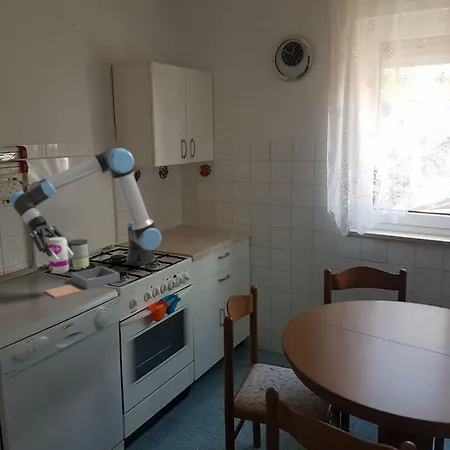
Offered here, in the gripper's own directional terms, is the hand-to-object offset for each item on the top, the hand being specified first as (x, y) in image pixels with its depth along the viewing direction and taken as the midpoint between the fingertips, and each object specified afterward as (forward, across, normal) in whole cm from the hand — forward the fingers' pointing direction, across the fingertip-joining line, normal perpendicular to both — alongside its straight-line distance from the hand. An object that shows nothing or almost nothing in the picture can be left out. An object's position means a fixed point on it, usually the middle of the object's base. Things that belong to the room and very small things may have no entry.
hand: (64, 258), depth 211 cm
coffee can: (-7, -36, -29) cm, 47 cm away
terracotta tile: (+9, 0, -13) cm, 16 cm away
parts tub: (+11, -19, -11) cm, 24 cm away
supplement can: (+2, 0, -7) cm, 7 cm away
